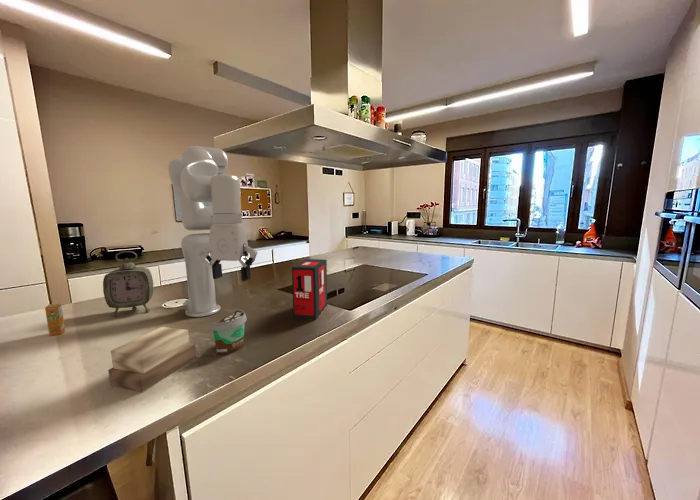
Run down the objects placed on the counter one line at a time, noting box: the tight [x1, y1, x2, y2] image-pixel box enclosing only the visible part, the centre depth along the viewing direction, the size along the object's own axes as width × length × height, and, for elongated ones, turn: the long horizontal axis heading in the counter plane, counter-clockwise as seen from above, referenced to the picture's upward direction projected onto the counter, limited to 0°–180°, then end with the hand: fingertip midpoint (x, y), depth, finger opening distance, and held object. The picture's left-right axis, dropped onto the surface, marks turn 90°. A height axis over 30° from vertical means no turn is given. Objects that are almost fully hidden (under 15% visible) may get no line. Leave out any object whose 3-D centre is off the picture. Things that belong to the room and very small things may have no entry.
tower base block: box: [107, 342, 197, 393], centre depth 75 cm, size 10×16×4 cm, turn 165°
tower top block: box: [110, 326, 190, 373], centre depth 74 cm, size 9×14×4 cm, turn 167°
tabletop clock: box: [102, 250, 154, 317], centre depth 115 cm, size 14×9×25 cm, turn 114°
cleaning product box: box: [291, 258, 328, 321], centre depth 116 cm, size 16×9×20 cm, turn 170°
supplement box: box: [44, 302, 66, 337], centre depth 96 cm, size 3×3×10 cm
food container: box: [210, 308, 248, 355], centre depth 87 cm, size 12×6×10 cm, turn 168°
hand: (231, 279), depth 84 cm, fingers open, 9 cm apart
